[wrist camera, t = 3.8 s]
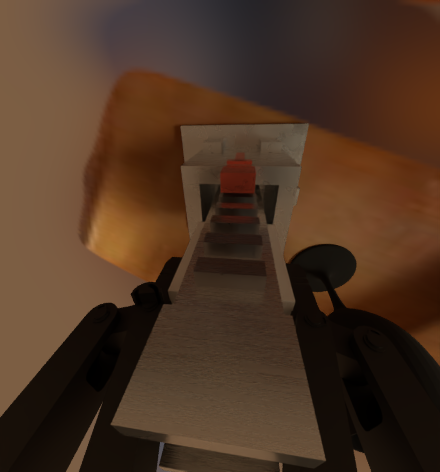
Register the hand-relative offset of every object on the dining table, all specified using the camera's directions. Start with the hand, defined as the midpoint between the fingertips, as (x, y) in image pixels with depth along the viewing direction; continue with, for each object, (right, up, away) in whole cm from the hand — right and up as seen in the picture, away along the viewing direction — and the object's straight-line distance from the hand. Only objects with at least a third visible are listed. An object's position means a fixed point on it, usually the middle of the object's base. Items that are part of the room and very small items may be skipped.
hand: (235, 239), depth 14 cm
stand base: (+1, +7, +11) cm, 13 cm away
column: (+1, +6, +10) cm, 12 cm away
